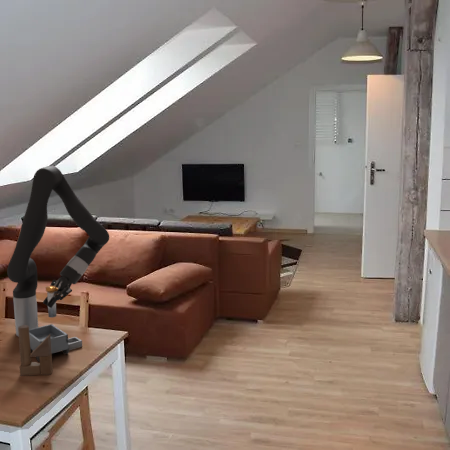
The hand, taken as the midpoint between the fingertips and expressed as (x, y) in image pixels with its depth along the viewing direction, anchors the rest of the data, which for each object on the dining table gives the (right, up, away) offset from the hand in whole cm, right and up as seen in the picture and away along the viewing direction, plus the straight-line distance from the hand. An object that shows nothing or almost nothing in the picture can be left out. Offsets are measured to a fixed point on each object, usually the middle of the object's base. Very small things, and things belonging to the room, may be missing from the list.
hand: (46, 305), depth 203 cm
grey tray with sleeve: (+2, -19, +5) cm, 20 cm away
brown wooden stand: (+1, -23, -14) cm, 27 cm away
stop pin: (+1, -5, +2) cm, 5 cm away
